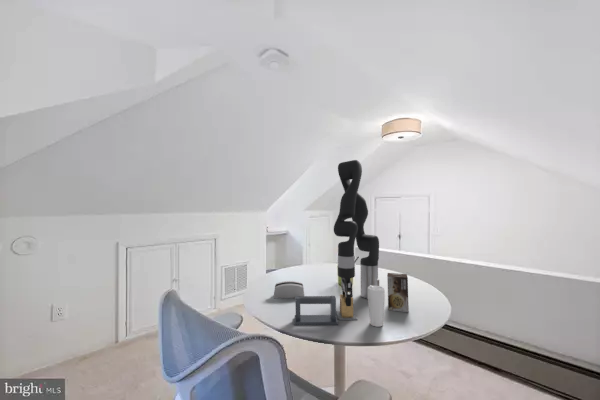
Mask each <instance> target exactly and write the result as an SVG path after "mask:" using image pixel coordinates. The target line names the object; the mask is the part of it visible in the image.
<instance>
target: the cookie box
mask: <svg viewBox="0 0 600 400" xmlns="http://www.w3.org/2000/svg"><path fill="white" fill-rule="evenodd" d="M386 278H387V310H388V311H392V312H393V311H395V312H404V313H409V312H410V311H409V284H408V282H409V281H408V280H409V279H408V274H407V273H397V272H396V273H394V272H387V277H386Z"/></svg>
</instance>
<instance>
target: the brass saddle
mask: <svg viewBox="0 0 600 400" xmlns="http://www.w3.org/2000/svg"><path fill="white" fill-rule="evenodd" d="M339 311H340V313H341V315H342V318H353V311H354V297H351V306H346V297H345V294H342V293H339Z"/></svg>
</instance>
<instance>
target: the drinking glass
mask: <svg viewBox="0 0 600 400" xmlns="http://www.w3.org/2000/svg"><path fill="white" fill-rule="evenodd" d="M385 297H386V295H385V287H382V285H381V286H380V285H379V286H369V287H368V299H367V305H368V314H369V324H370V325H371V326H373V327H376V328H379V327H382V326H383V325H384V311H385V300H386V299H385Z"/></svg>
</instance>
